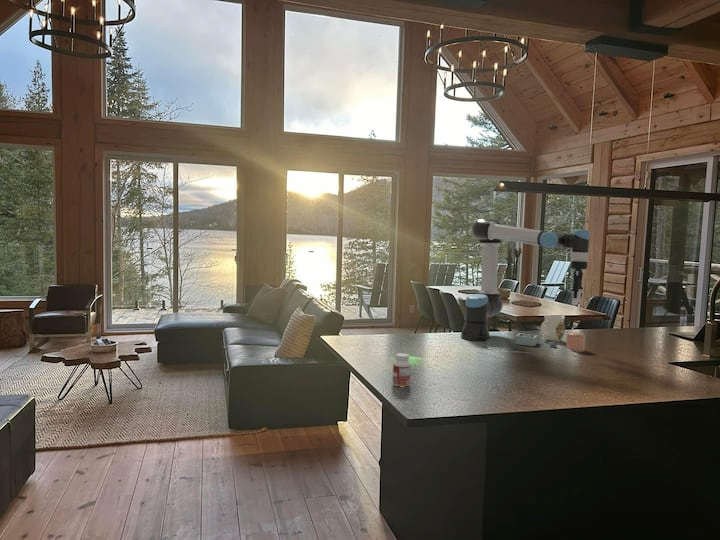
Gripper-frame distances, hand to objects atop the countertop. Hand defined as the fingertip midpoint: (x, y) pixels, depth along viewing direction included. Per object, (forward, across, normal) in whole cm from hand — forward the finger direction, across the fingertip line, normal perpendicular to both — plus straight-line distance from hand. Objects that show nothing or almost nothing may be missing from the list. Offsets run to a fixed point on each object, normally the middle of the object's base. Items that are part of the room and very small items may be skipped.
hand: (576, 303), depth 262 cm
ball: (+23, -5, +9) cm, 25 cm away
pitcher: (+23, +16, +12) cm, 31 cm away
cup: (+23, -1, -1) cm, 23 cm away
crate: (+23, -4, +22) cm, 32 cm away
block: (+23, -4, +22) cm, 32 cm away
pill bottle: (+24, -109, +47) cm, 121 cm away
